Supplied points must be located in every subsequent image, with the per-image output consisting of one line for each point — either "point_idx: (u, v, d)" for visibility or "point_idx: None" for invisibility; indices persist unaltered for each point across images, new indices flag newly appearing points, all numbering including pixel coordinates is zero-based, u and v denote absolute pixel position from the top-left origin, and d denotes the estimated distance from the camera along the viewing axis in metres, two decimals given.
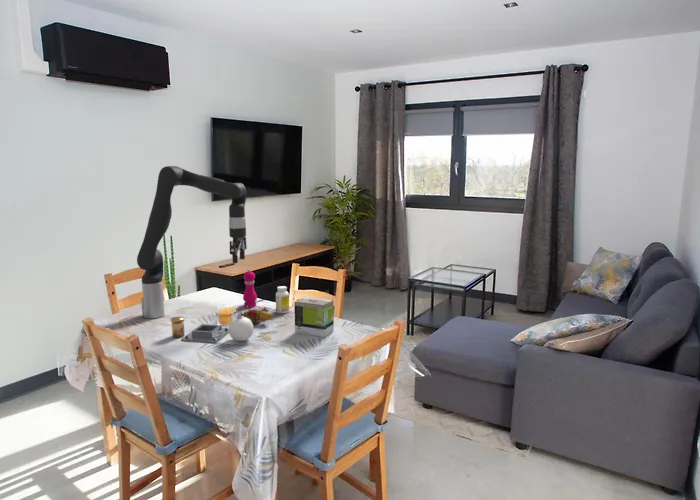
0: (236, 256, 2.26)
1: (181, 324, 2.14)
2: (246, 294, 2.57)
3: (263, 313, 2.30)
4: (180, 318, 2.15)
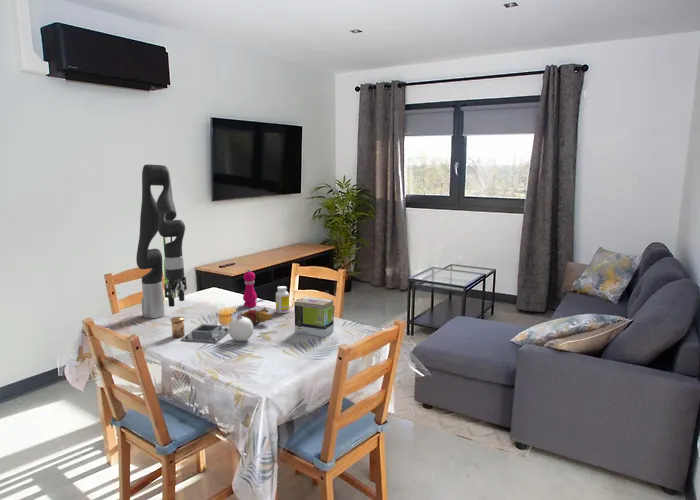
0: (172, 299, 2.08)
1: (181, 324, 2.14)
2: (246, 294, 2.57)
3: (262, 313, 2.30)
4: (180, 318, 2.15)
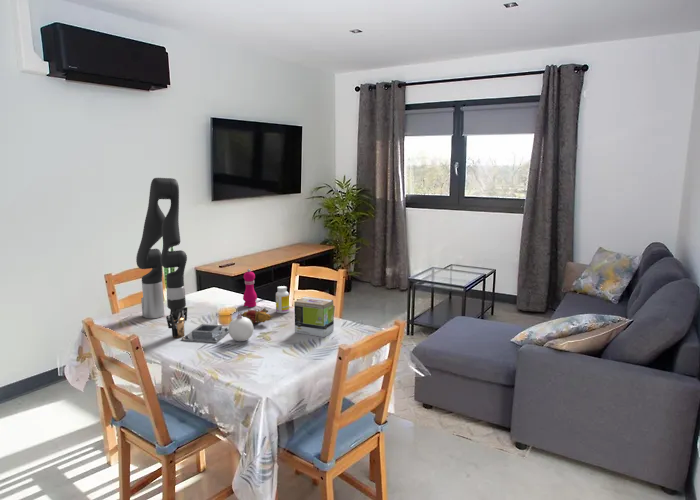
0: (176, 329, 2.12)
1: (181, 324, 2.14)
2: (246, 294, 2.57)
3: (262, 314, 2.29)
4: (180, 318, 2.15)
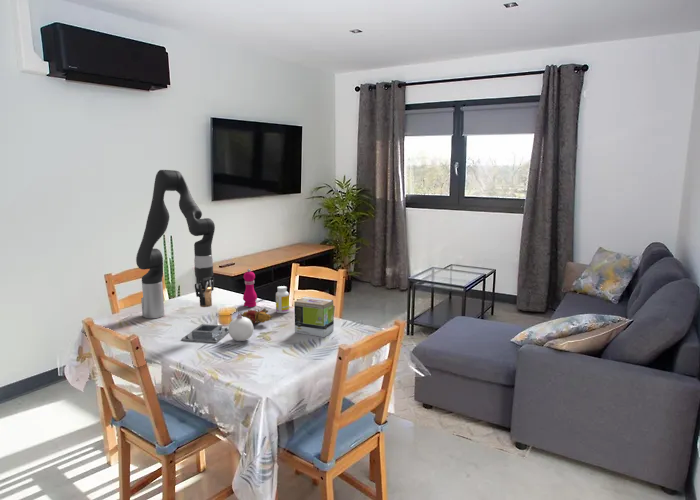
0: (204, 298, 2.11)
1: (209, 293, 2.12)
2: (246, 294, 2.57)
3: (262, 314, 2.29)
4: (208, 287, 2.13)
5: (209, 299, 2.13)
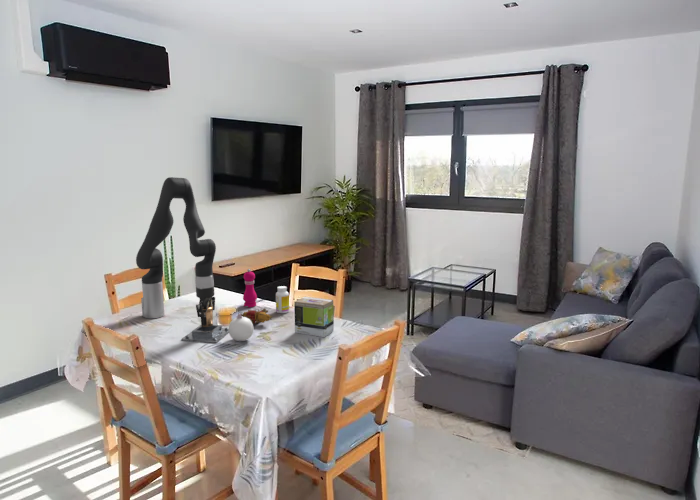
0: (205, 318, 2.12)
1: (210, 313, 2.14)
2: (246, 294, 2.57)
3: (262, 314, 2.29)
4: (209, 307, 2.15)
5: (210, 319, 2.14)
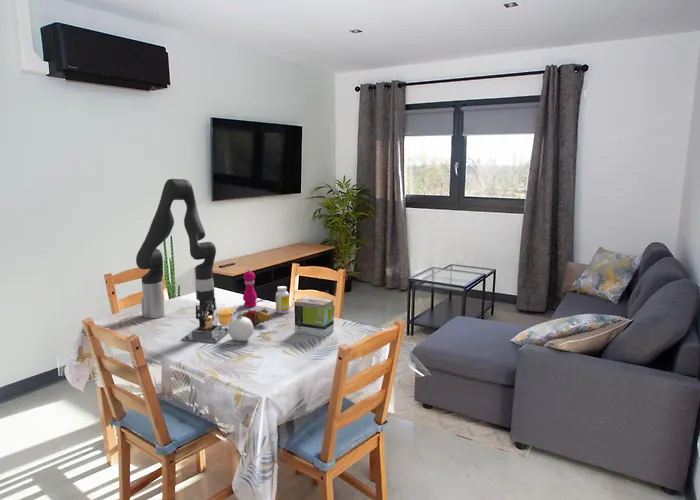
0: (203, 320, 2.11)
1: (210, 322, 2.14)
2: (246, 294, 2.57)
3: (262, 314, 2.29)
4: (209, 316, 2.15)
5: (210, 327, 2.15)
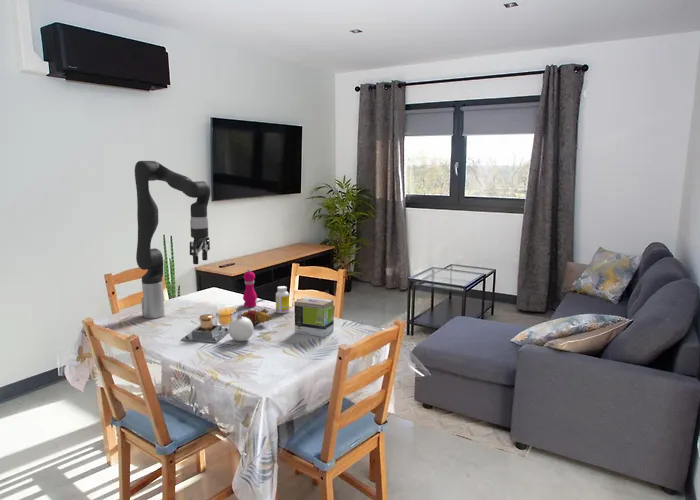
0: (197, 257, 2.18)
1: (210, 322, 2.14)
2: (246, 294, 2.57)
3: (261, 314, 2.29)
4: (209, 316, 2.15)
5: (210, 327, 2.15)
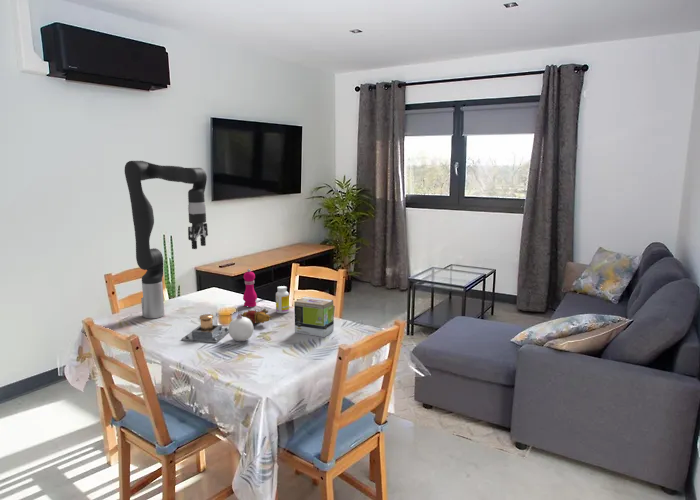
0: (195, 242, 2.23)
1: (210, 322, 2.14)
2: (246, 294, 2.57)
3: (261, 314, 2.29)
4: (209, 316, 2.15)
5: (210, 327, 2.15)
